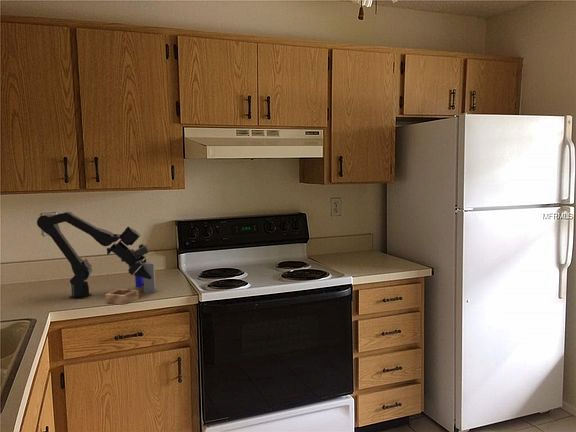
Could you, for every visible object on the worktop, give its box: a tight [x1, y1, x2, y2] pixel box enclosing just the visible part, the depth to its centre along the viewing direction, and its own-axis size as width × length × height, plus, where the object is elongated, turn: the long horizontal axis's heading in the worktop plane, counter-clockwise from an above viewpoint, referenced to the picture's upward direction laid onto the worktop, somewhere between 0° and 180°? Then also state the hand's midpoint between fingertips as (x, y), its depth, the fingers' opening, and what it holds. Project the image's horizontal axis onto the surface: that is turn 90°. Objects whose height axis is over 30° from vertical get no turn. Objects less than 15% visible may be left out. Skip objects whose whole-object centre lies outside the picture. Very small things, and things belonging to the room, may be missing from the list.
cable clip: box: [134, 275, 144, 288], centre depth 227 cm, size 12×4×6 cm, turn 170°
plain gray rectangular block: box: [143, 261, 157, 294], centre depth 212 cm, size 4×4×13 cm
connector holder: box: [104, 288, 140, 305], centre depth 199 cm, size 10×10×4 cm
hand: (152, 276), depth 212 cm, fingers open, 9 cm apart
